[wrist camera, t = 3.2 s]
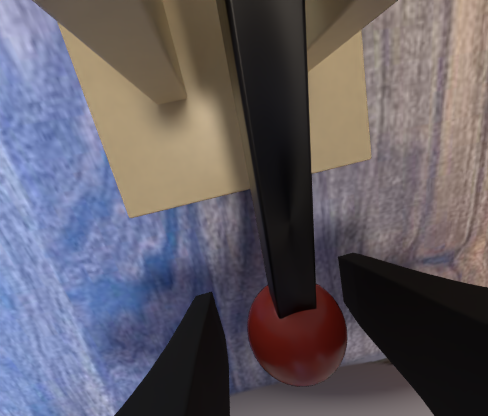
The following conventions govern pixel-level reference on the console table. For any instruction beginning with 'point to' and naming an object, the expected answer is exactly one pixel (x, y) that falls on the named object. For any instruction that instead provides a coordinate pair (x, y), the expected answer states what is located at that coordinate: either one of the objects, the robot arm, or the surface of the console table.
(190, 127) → the bracket
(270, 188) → the lever
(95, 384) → the console table surface
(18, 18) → the console table surface
